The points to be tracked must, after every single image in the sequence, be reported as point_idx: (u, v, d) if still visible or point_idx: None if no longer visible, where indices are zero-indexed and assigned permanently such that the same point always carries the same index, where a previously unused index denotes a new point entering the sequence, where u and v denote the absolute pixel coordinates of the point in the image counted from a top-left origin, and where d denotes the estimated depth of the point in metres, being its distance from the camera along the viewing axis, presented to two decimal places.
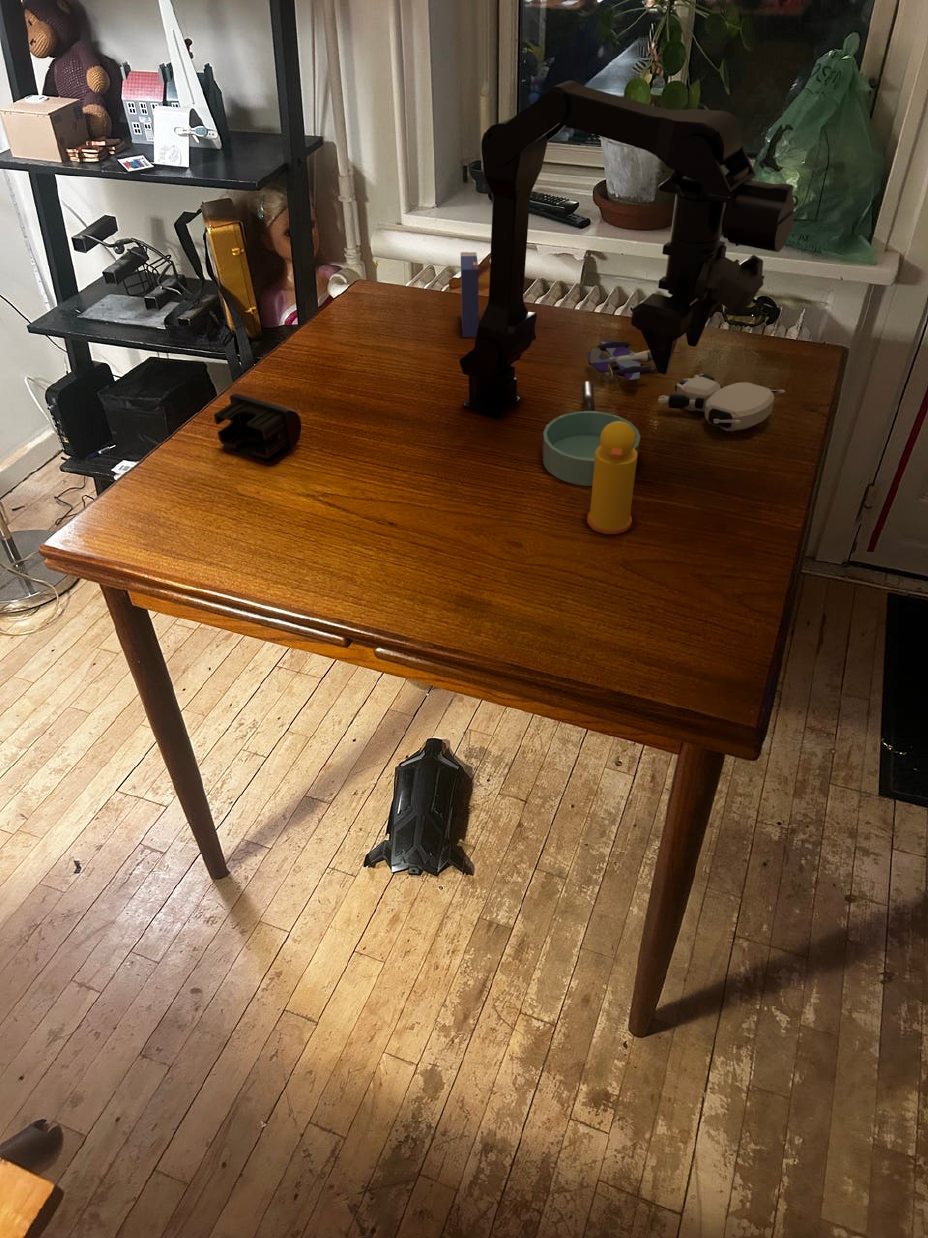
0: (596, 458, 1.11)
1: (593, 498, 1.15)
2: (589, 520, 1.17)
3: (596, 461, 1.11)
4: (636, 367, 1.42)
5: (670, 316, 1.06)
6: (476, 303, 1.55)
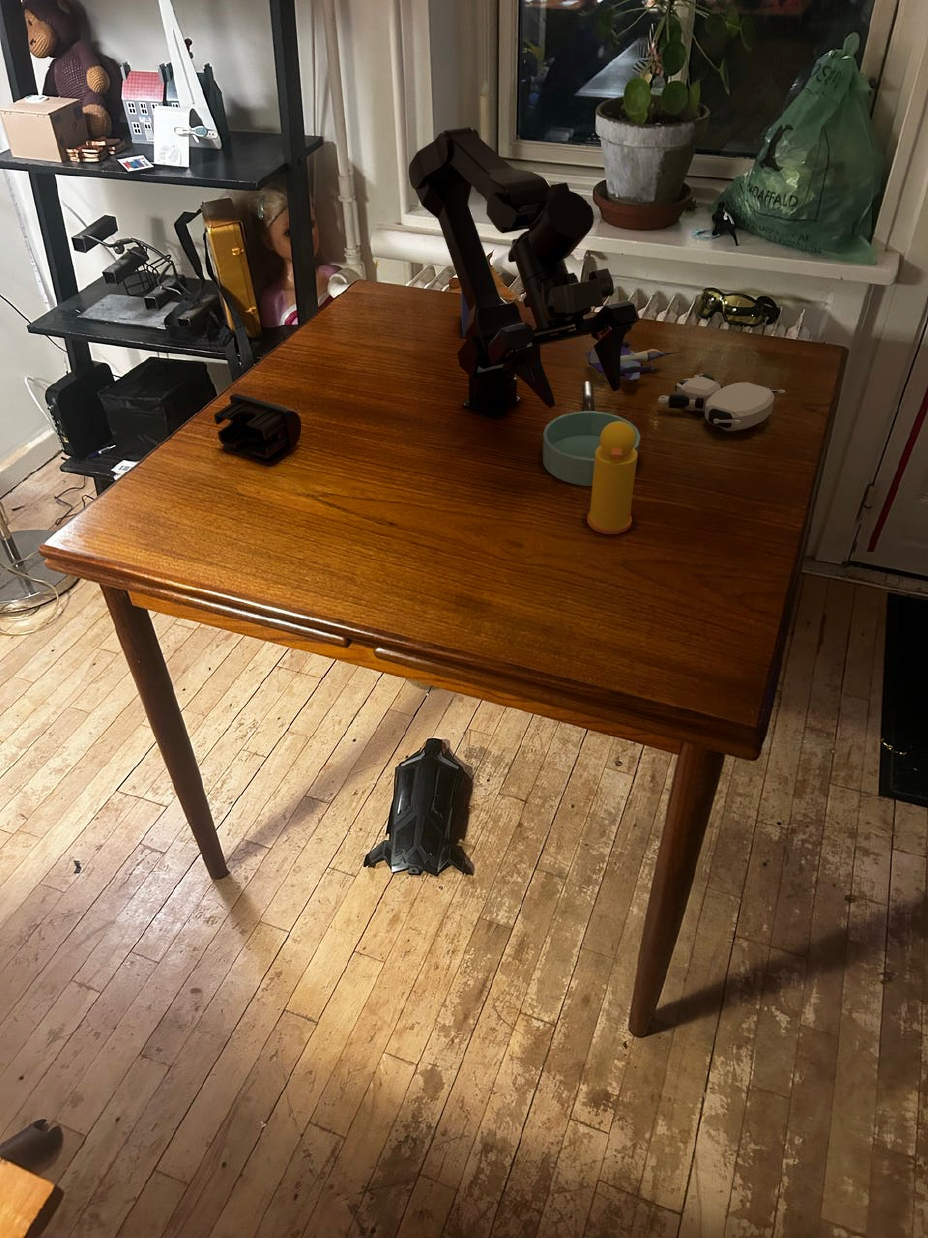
0: (596, 458, 1.11)
1: (593, 498, 1.15)
2: (589, 520, 1.17)
3: (596, 461, 1.11)
4: (636, 367, 1.42)
5: (498, 333, 1.10)
6: None
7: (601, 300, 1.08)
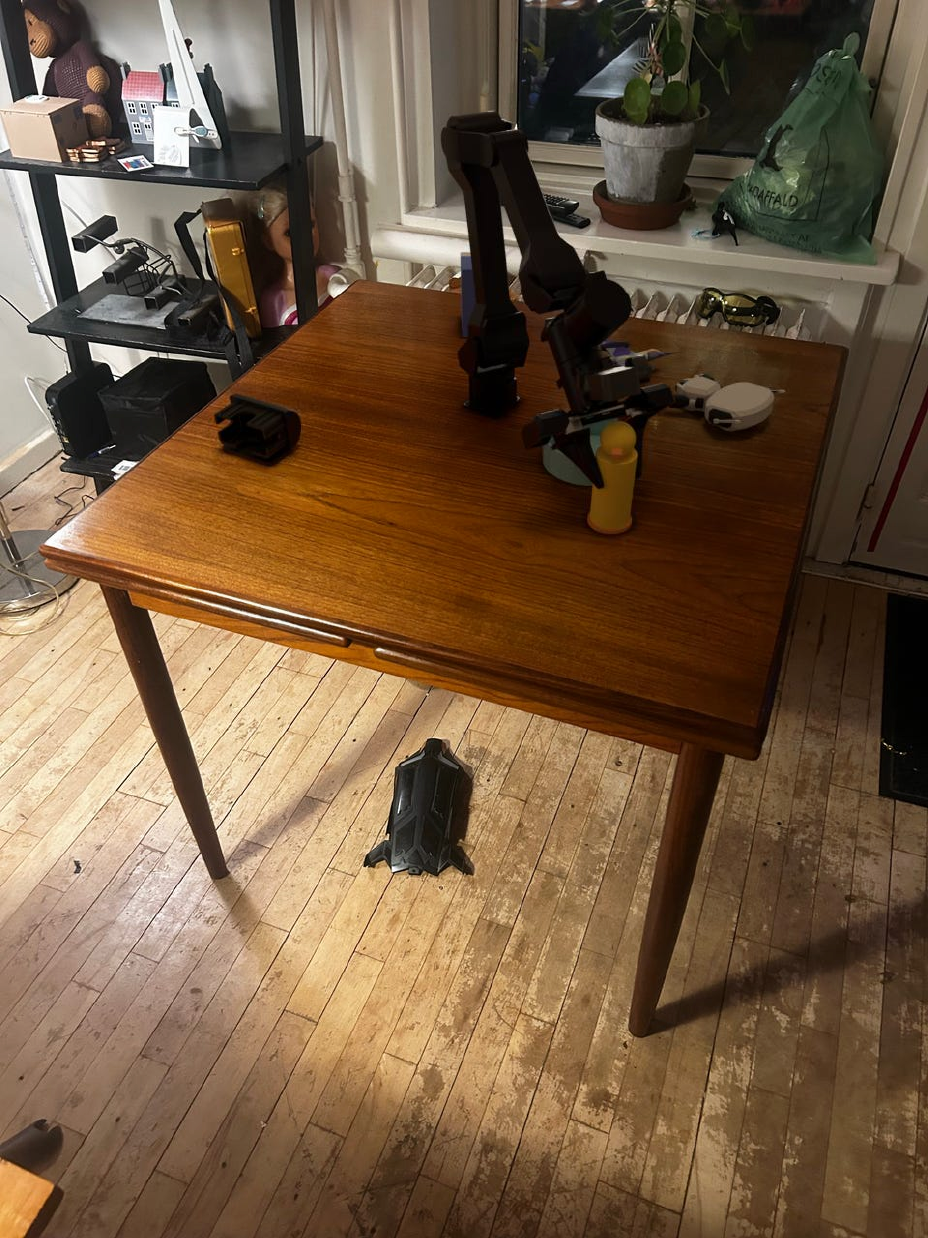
0: (596, 458, 1.11)
1: (593, 498, 1.15)
2: (589, 520, 1.17)
3: None
4: None
5: (533, 420, 1.08)
6: None
7: (638, 388, 1.06)
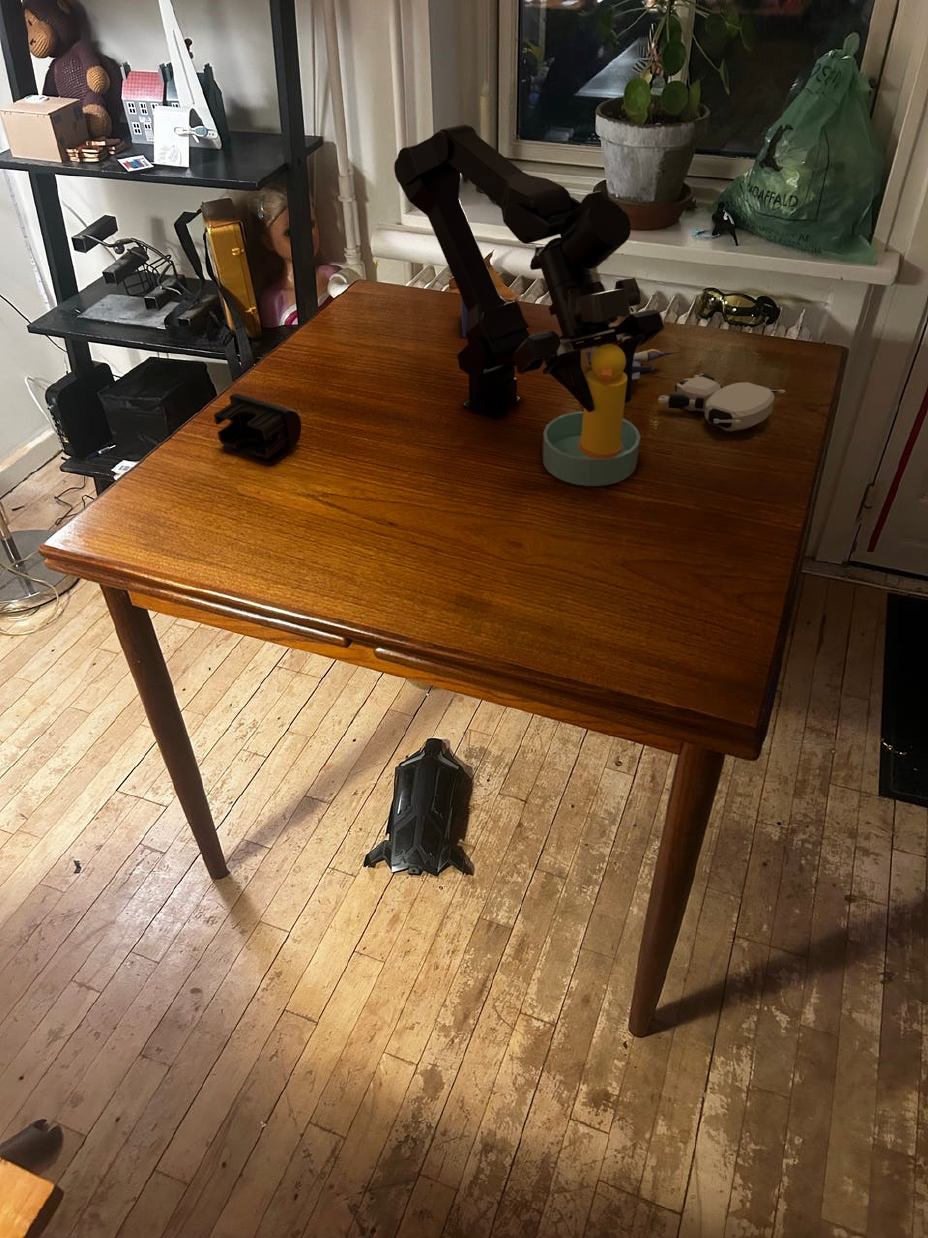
0: (587, 381, 1.13)
1: (584, 422, 1.17)
2: (580, 445, 1.19)
3: (587, 384, 1.14)
4: (636, 367, 1.42)
5: (525, 342, 1.10)
6: None
7: (628, 309, 1.08)
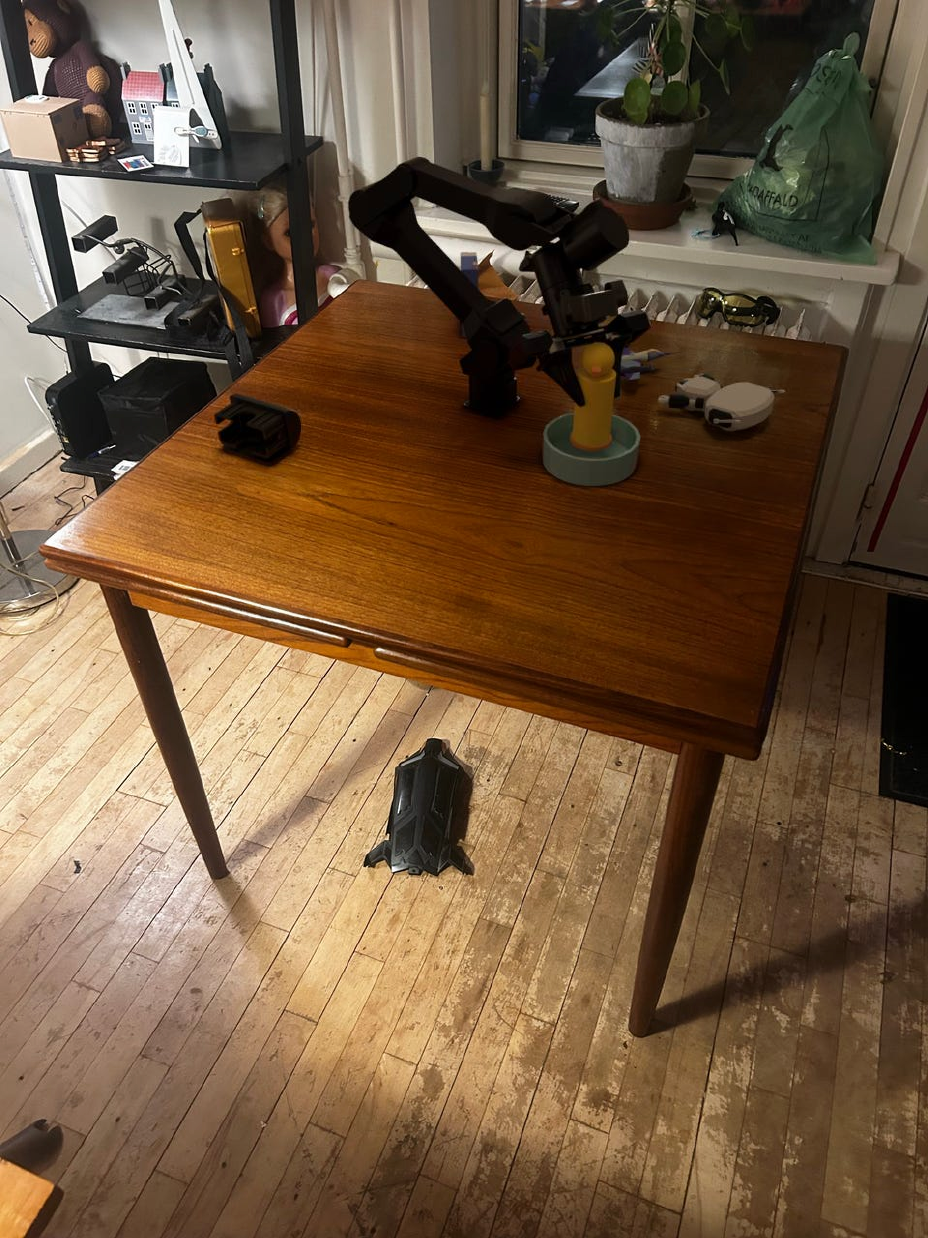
0: (578, 377, 1.20)
1: (575, 417, 1.24)
2: (572, 439, 1.26)
3: (578, 380, 1.20)
4: (636, 367, 1.42)
5: (519, 340, 1.17)
6: None
7: (616, 309, 1.15)
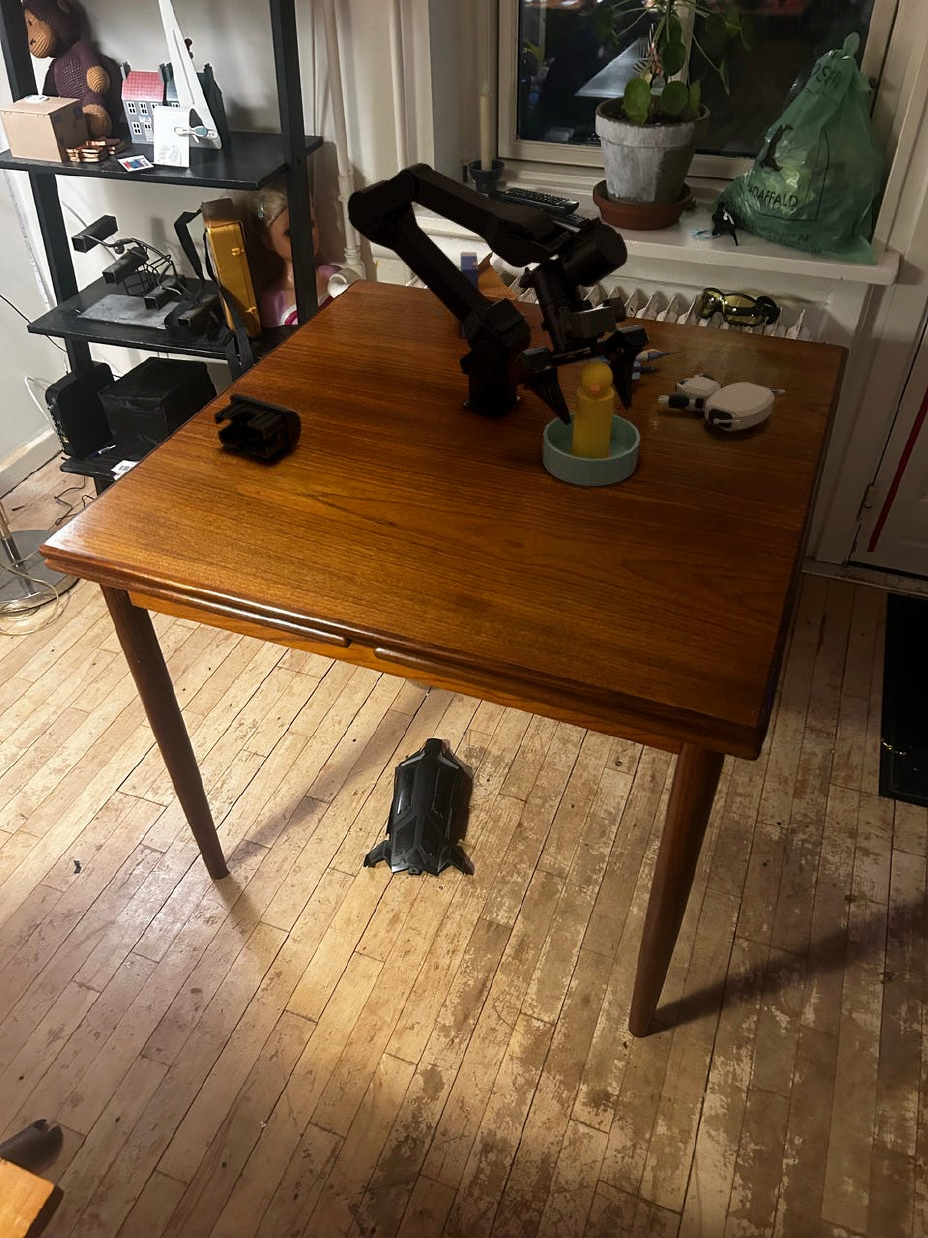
0: (577, 396, 1.22)
1: (574, 434, 1.25)
2: None
3: (577, 399, 1.22)
4: (636, 367, 1.42)
5: (519, 356, 1.18)
6: None
7: (615, 326, 1.16)
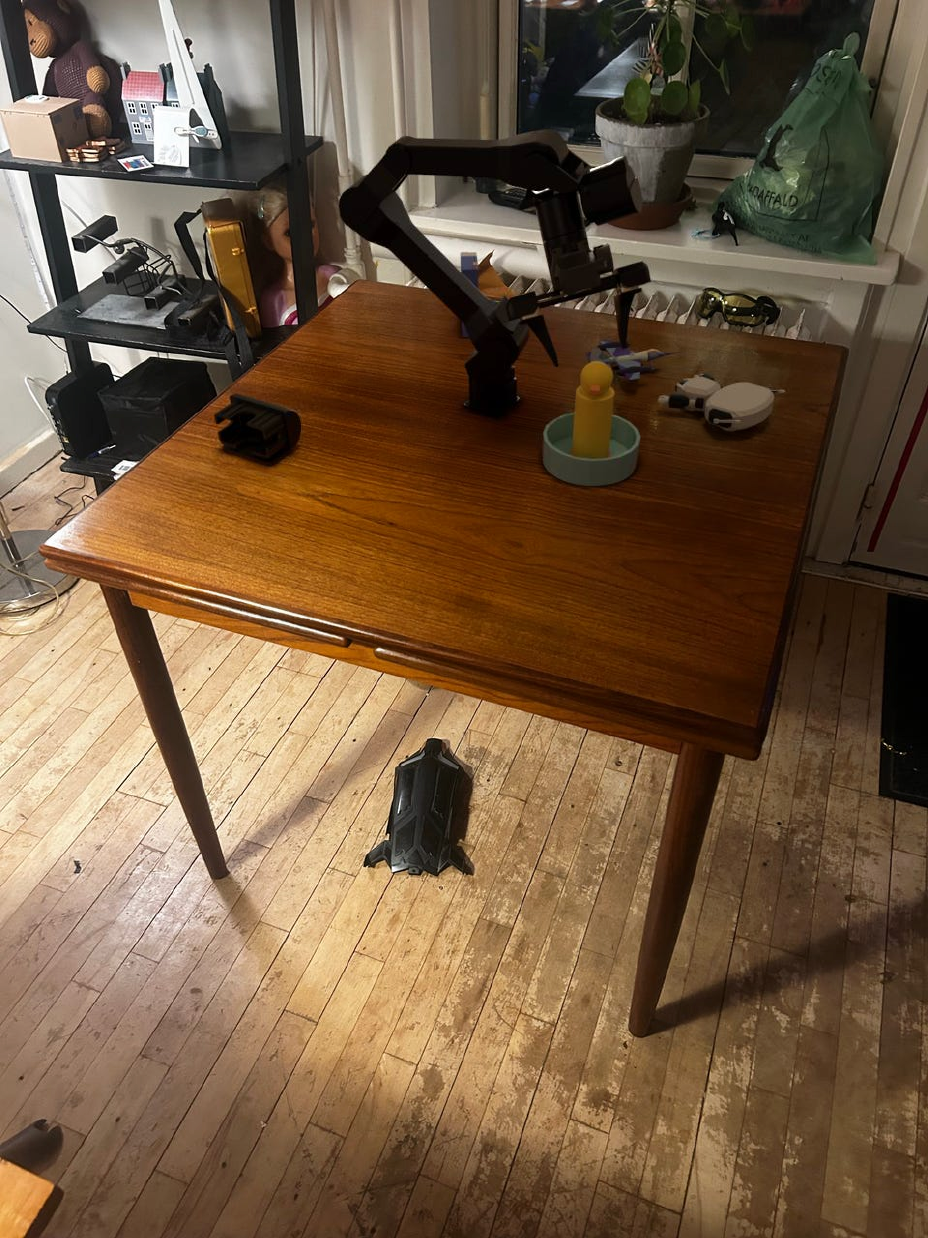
0: (577, 396, 1.22)
1: (574, 434, 1.25)
2: None
3: (577, 399, 1.22)
4: (636, 367, 1.42)
5: (507, 302, 1.21)
6: None
7: (597, 281, 1.15)
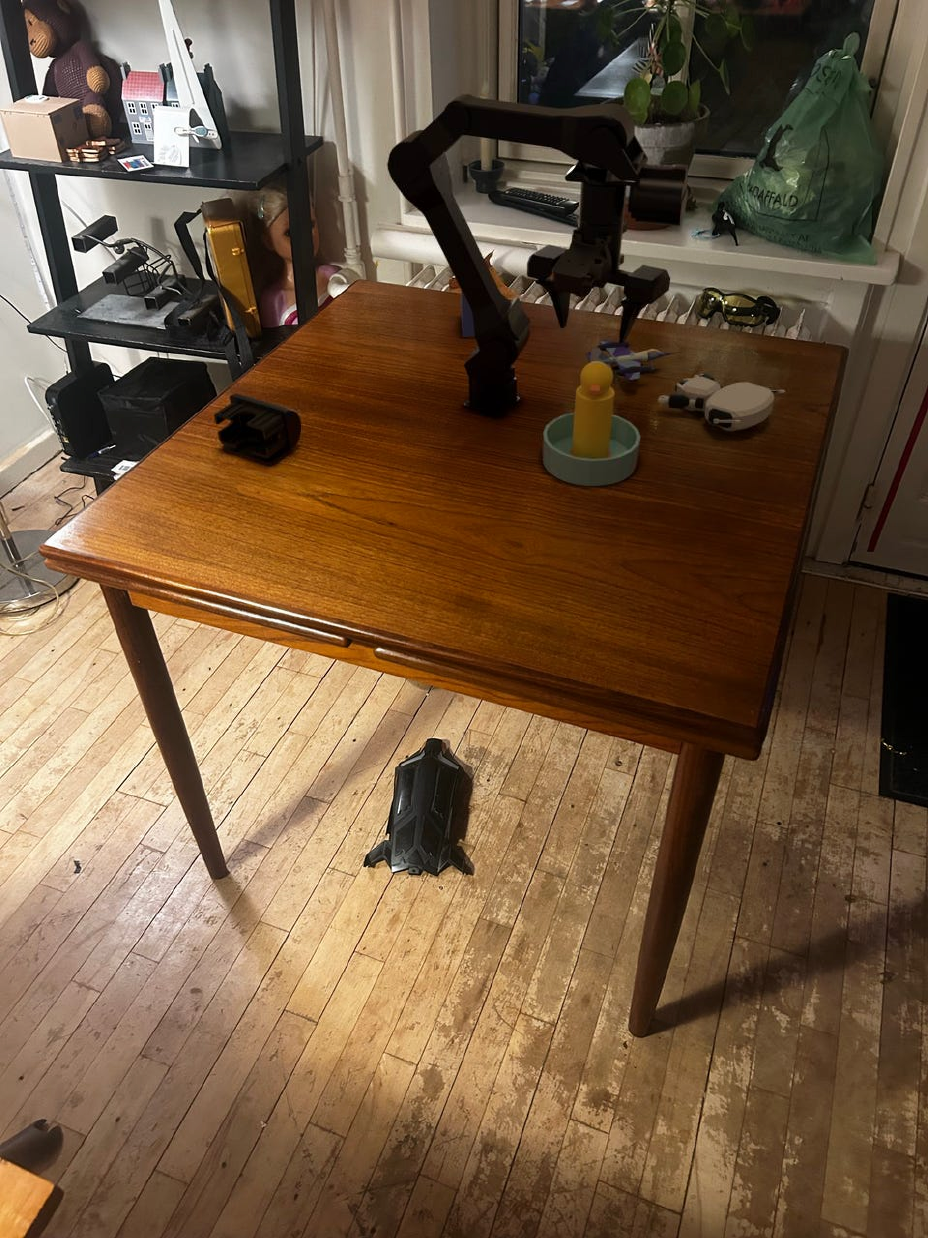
0: (577, 396, 1.22)
1: (574, 434, 1.25)
2: None
3: (577, 399, 1.22)
4: (636, 367, 1.42)
5: None
6: None
7: (581, 292, 1.17)
